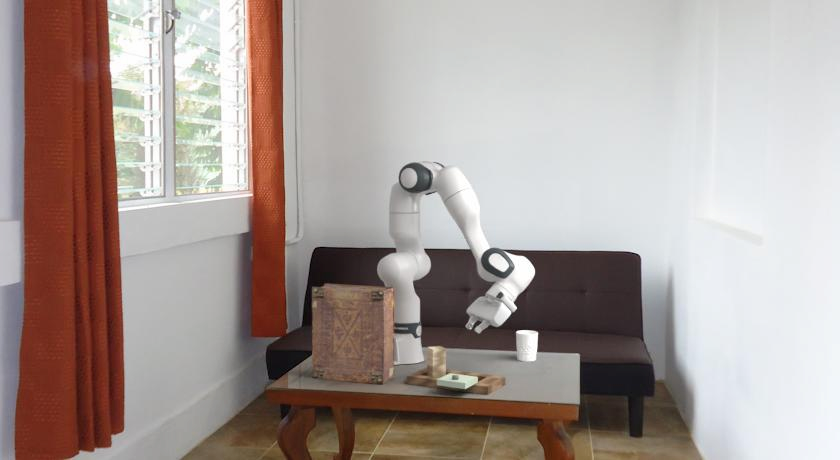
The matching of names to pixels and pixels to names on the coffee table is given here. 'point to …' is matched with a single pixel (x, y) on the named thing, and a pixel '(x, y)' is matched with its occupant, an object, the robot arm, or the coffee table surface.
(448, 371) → the puzzle board
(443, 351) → the maple block
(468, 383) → the lid
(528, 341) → the white cup
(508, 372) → the coffee table surface
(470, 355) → the coffee table surface
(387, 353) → the book
